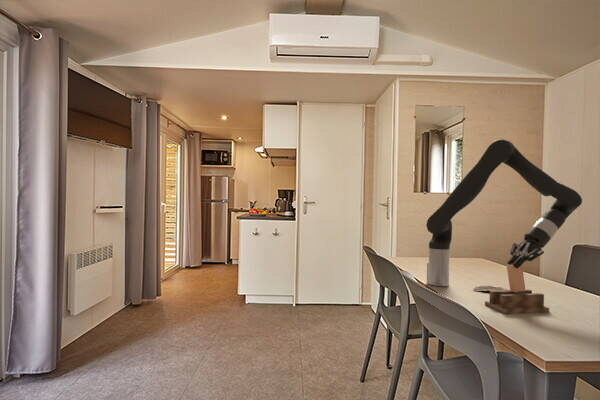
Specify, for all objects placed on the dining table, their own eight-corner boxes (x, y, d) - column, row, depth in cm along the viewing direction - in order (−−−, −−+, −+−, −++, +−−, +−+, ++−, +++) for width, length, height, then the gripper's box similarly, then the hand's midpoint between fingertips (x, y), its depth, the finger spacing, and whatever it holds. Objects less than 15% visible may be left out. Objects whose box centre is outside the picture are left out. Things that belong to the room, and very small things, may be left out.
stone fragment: (471, 290, 170) (473, 295, 161) (471, 284, 170) (473, 288, 161) (535, 295, 162) (541, 300, 152) (535, 288, 162) (541, 293, 152)
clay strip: (515, 292, 137) (511, 265, 137) (510, 290, 140) (506, 264, 139) (525, 289, 138) (521, 263, 138) (520, 288, 141) (517, 262, 140)
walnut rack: (505, 314, 132) (505, 297, 132) (484, 305, 143) (485, 289, 143) (549, 312, 135) (549, 295, 135) (525, 303, 146) (526, 288, 146)
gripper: (520, 224, 147) (493, 256, 145) (550, 227, 133) (520, 262, 131) (532, 237, 148) (504, 269, 146) (562, 242, 134) (533, 276, 132)
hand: (512, 265), depth 139 cm, fingers closed on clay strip, 2 cm apart
